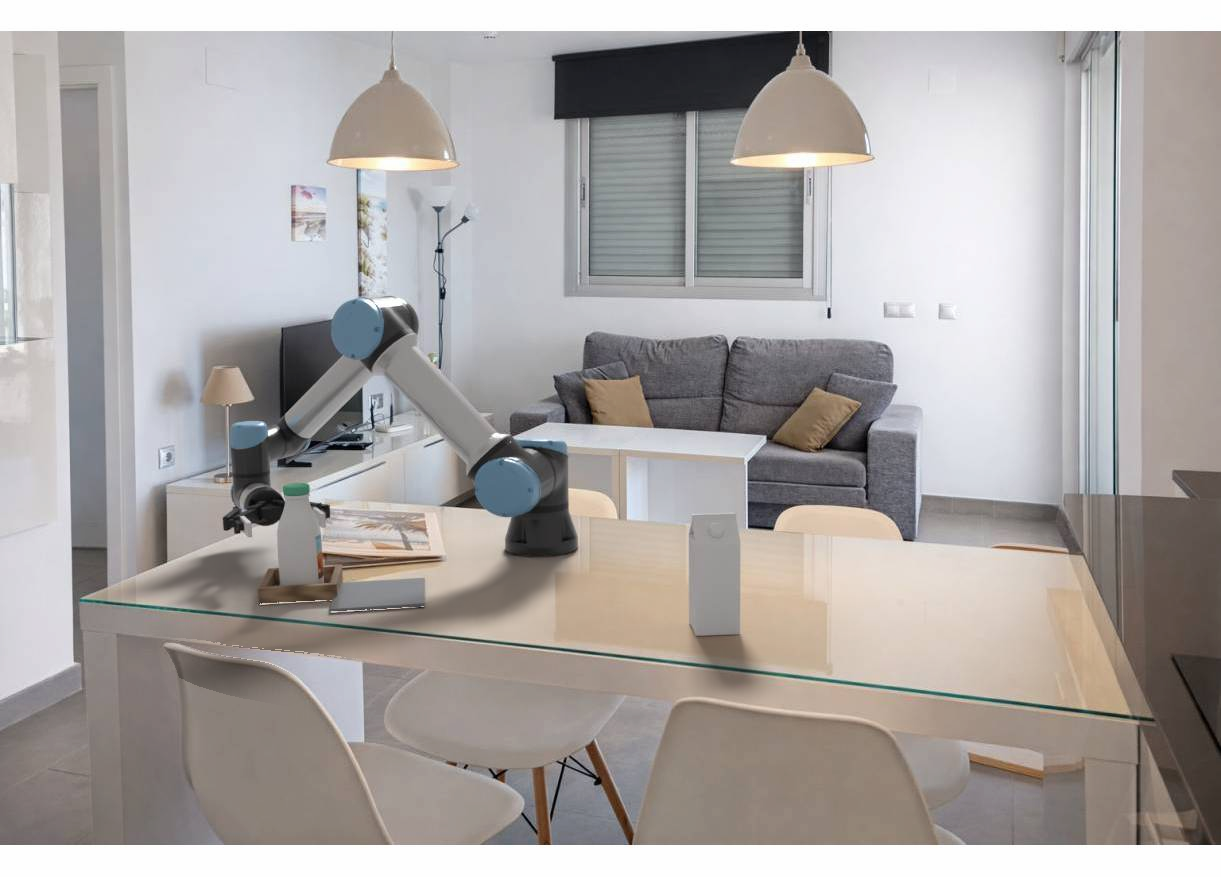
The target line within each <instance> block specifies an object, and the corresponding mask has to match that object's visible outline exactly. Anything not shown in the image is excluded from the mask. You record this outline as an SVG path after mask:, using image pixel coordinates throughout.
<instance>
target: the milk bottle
mask: <svg viewBox="0 0 1221 877" xmlns="http://www.w3.org/2000/svg"><path fill="white" fill-rule="evenodd" d="M310 491H311V490H310V484H308V483H307V482H292V483H286V484H284V485H283V486H282V493H283V499H284V501H285V506H284V510H283V513H282V515H281V518H280V520H279V521H278V525H277V529H276V530H277V531H276V532H277V534H276V536H277V539H276V540H277V557H278V558H277V560H278V568H279V578H280V585H279V586H286V585H303V584H320V583H324V574H323V565H324V561H323V560H324V558H323V546H322V534H321V533H322V532H321V531H322V530H321V527H320V525H319V522H318V520H317V517H316V515H315V514H314V512H313V510H312V508H311V505H310V502H311V501H310V497H311V494H310V493H311V492H310Z"/></svg>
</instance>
